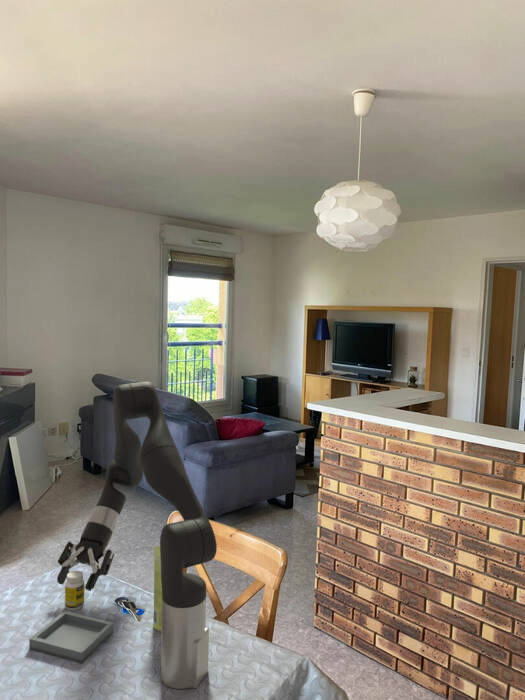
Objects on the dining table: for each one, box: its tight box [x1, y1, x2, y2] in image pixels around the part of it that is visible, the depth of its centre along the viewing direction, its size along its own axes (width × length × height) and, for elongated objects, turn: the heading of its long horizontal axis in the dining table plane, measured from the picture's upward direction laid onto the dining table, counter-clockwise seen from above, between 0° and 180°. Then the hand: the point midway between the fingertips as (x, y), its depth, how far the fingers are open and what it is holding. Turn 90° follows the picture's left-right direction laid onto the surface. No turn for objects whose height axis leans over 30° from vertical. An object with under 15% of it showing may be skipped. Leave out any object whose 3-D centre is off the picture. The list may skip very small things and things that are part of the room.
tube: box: [152, 545, 162, 632], centre depth 129 cm, size 6×5×20 cm
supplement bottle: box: [64, 570, 85, 611], centre depth 138 cm, size 5×5×8 cm
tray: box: [28, 610, 115, 664], centre depth 123 cm, size 14×12×2 cm
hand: (73, 586), depth 137 cm, fingers open, 8 cm apart
